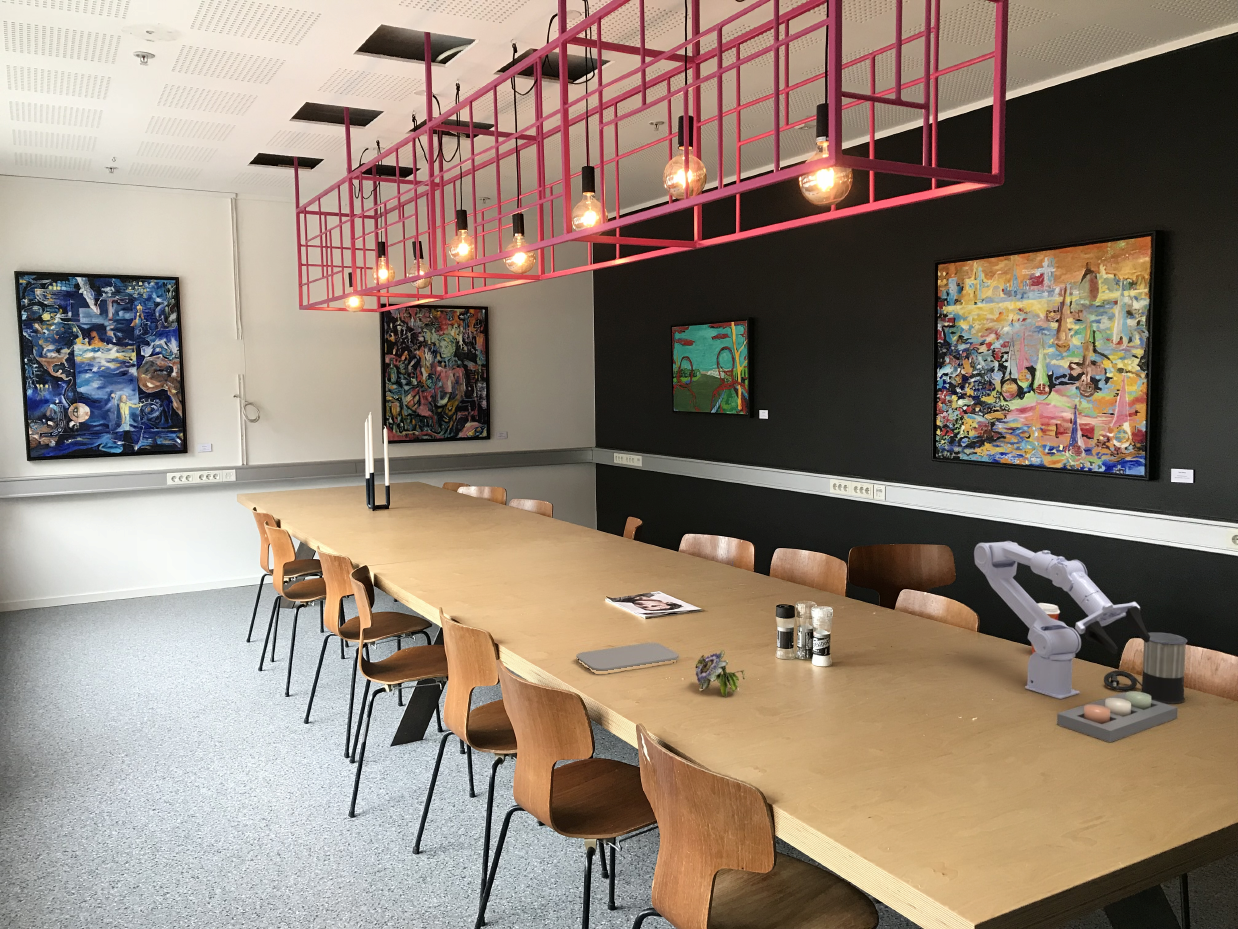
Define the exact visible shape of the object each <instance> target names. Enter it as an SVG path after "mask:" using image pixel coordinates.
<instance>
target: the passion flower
mask: <svg viewBox="0 0 1238 929" xmlns="http://www.w3.org/2000/svg"><path fill="white" fill-rule="evenodd" d="M725 653H726V652H725V649H722V650H721V651H720V652H718V653H717V652H715V653H711V654H710V655H707V656H706V655H705V654H702V655H701V656H700V657H699V658H698V659H697V662H695V676H696V678H697V679H696V680H697V682H698V685H700V686H699V688H698V690H699V689H703V690H705V691H706V690H707V689H708V687H709V686H710V685H711V682H712V683H713V682H716V681H717V683H718V684H719V688H720V692H721V695H722V696H723V697H725V696H727V697H728V691H729V687H730V686H731V687H730V689H731V693H732V694H734V693H735V692H736V690H737V689H738V686H739V684H738V681H739V680H740V679H739V676H737V674H736V673H741V674H742V679H743V680H745V679H746V675H745V669H743V670H737V671H735V672H731V671H729V672H727V667H726V666H728V665H729V661H728V660H725V659H724V660H722V659H723V658H724V656H725Z"/></svg>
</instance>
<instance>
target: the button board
mask: <svg viewBox="0 0 1238 929" xmlns="http://www.w3.org/2000/svg"><path fill="white" fill-rule="evenodd" d="M1126 692H1127V691H1122V692H1120V693H1118V694H1114V695H1111V696H1108V697H1104V698H1102V699H1099V700H1096V701H1093V702H1090V703H1086V704H1083V705H1080V706H1077V707H1073V708H1071V709H1067V710H1063V711H1060V712H1057V713H1056V725H1058V726H1061V727H1063V728H1065V729H1069V730H1072V731H1075V732H1079V733H1081V734H1085V735H1087V736H1089V737H1092V738H1095V739H1098V740H1101V741H1105V742H1107V743H1113V742H1115V741H1118V740H1121V739H1124V738H1126V737H1129V736H1132V735H1135V734H1137V733H1140V732H1143V731H1146V730H1148V729H1152V728H1155V727H1156V726H1160V725H1162V724H1165V723H1167V722H1168V723H1169V722H1171V721H1174V720H1176V719H1178V712H1179V711H1178V708H1179V707H1178V706H1173V705H1171V704H1169V703H1161V702H1157V701H1154V700H1151V708H1148V709H1145V710H1142V709H1139V708H1136V707H1132V706H1131V715H1128V716H1125V717H1122V716H1119V715H1115V714H1112V713H1110V722H1107V723H1104V724H1099V723H1096V722H1093V721H1090V720H1087V719H1084V706H1085V705H1100V706H1104V707H1105V700H1106V699H1107V698H1120V699H1124V700H1126Z"/></svg>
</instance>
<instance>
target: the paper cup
mask: <svg viewBox="0 0 1238 929" xmlns="http://www.w3.org/2000/svg"><path fill="white" fill-rule="evenodd" d="M1036 603H1037V602H1036ZM1037 604H1038V605H1039V606H1040V607H1041V609H1042V610H1043V611H1044V612H1045V613H1046V614H1047V615H1048V616H1049V617H1050V618H1052V619H1055V620H1058V621H1059V614H1060V613H1061V611H1060V609H1059V606H1058V605H1055V604H1051V603H1044V602H1039V603H1037ZM1034 652H1036V651H1035V649H1034V647H1033V645H1032V644H1031V655H1032V654H1033V653H1034Z"/></svg>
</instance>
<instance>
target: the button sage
mask: <svg viewBox="0 0 1238 929" xmlns="http://www.w3.org/2000/svg"><path fill="white" fill-rule="evenodd" d="M1125 692H1126V700H1127V701H1129V702H1131V706H1132V707H1136V708H1139V709H1142V710H1145V709H1148V708H1151V696H1150V695H1149V694H1146V693H1142V692H1141V691H1136V690H1135V691H1134V690H1130V691H1125Z"/></svg>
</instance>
